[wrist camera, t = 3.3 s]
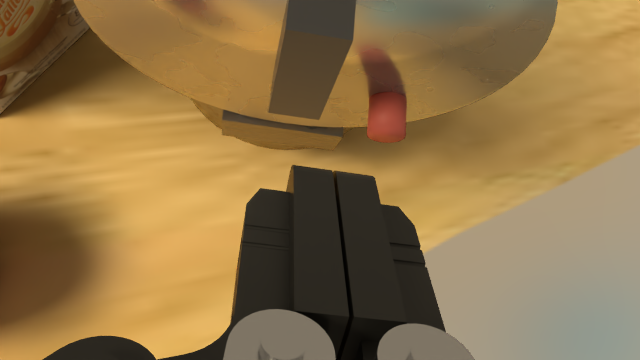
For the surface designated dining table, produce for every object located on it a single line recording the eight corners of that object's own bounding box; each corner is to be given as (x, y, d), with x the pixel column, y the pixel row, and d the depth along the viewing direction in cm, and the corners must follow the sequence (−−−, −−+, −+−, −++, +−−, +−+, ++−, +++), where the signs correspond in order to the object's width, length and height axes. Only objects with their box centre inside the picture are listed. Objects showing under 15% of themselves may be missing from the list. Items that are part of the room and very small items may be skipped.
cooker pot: (378, 186, 38) (430, 148, 29) (152, 156, 36) (125, 104, 27) (395, -31, 42) (445, -130, 32) (190, -70, 40) (179, -187, 30)
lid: (442, 127, 29) (441, 179, 28) (117, 79, 27) (106, 134, 26) (690, -122, 14) (705, -25, 13) (-17, -282, 11) (-57, -177, 11)
